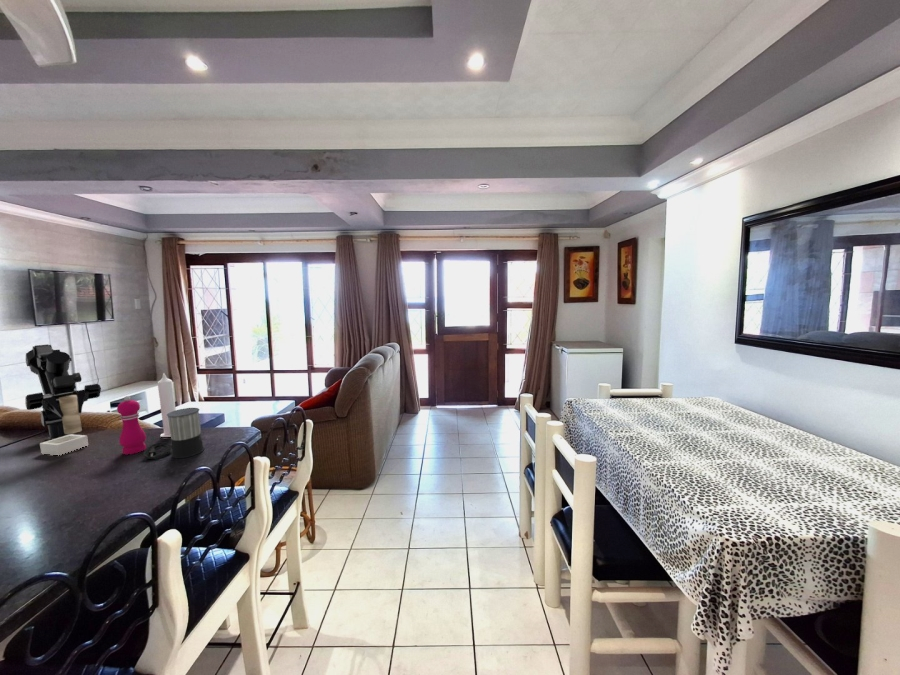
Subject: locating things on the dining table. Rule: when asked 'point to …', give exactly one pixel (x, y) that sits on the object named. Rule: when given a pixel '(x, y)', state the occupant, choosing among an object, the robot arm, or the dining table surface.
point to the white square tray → (64, 444)
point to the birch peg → (70, 414)
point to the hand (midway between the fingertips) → (71, 414)
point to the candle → (166, 402)
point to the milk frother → (181, 435)
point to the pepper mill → (131, 427)
